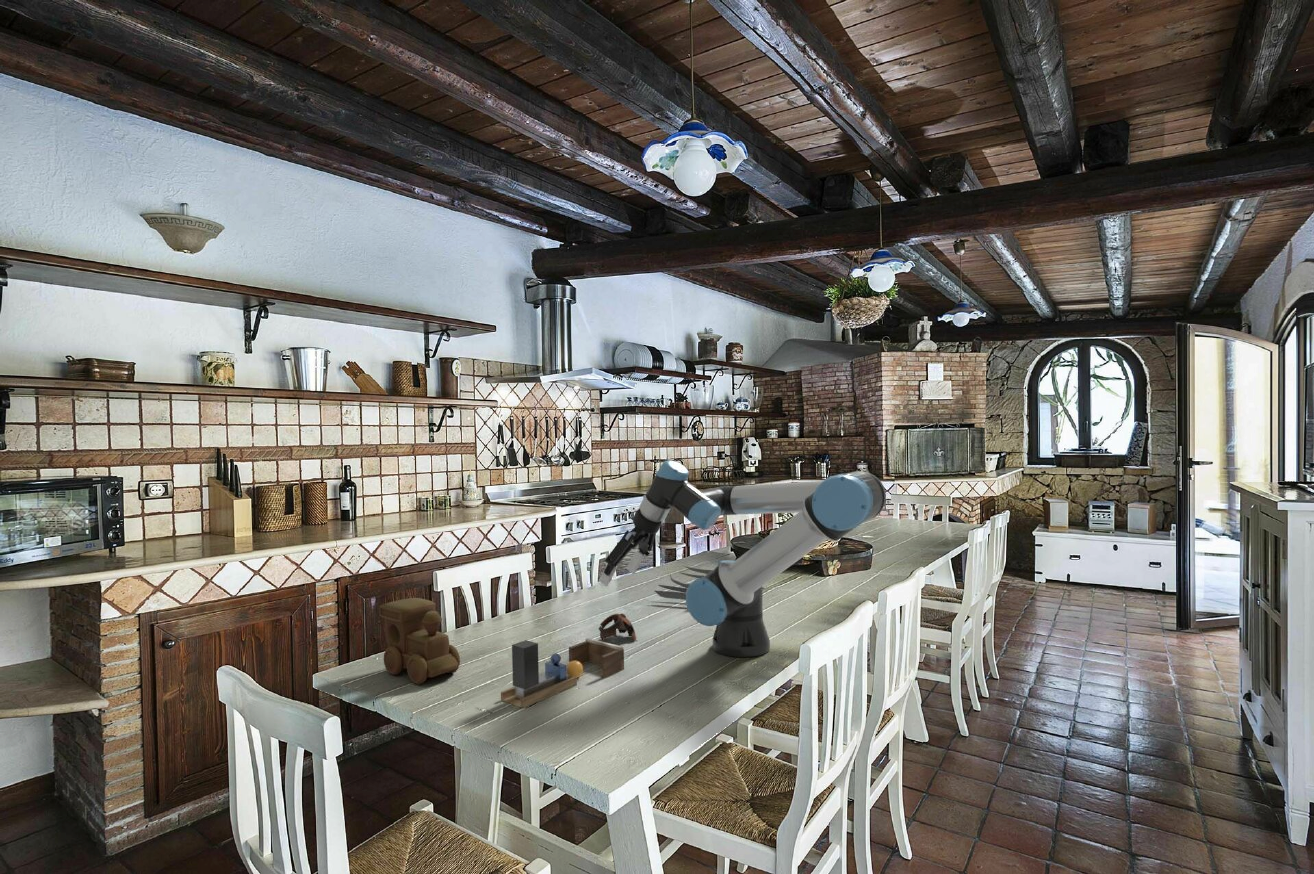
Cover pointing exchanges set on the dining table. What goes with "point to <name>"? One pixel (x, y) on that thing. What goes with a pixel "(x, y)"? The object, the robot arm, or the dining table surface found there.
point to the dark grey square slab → (534, 670)
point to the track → (537, 693)
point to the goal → (599, 655)
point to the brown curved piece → (616, 626)
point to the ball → (574, 669)
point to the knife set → (677, 594)
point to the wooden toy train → (416, 640)
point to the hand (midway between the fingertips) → (617, 577)
